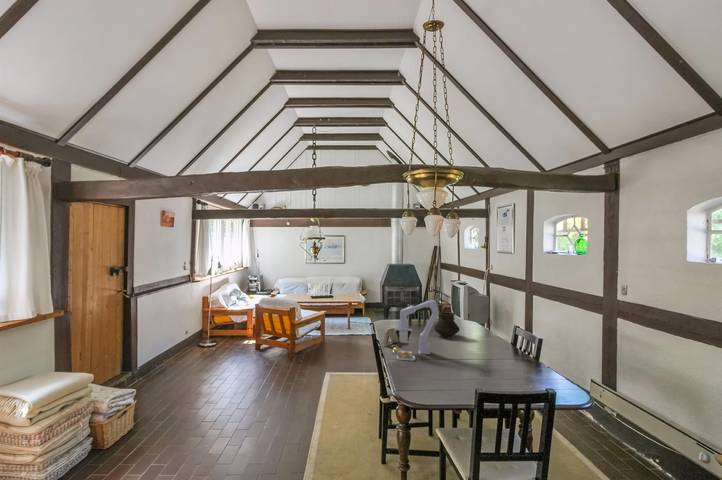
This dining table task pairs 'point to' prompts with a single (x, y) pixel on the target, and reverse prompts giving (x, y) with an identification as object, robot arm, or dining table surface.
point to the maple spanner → (402, 353)
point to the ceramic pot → (446, 325)
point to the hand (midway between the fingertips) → (403, 340)
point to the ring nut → (396, 349)
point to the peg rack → (406, 358)
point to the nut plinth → (394, 352)
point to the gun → (392, 334)
